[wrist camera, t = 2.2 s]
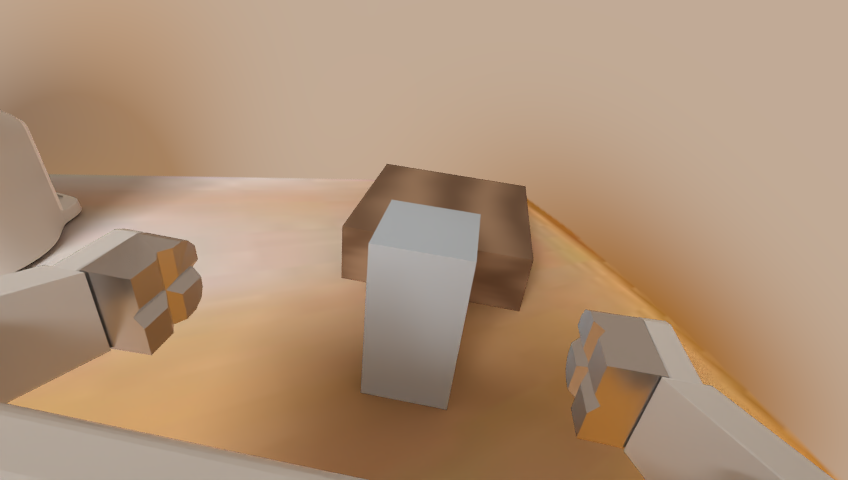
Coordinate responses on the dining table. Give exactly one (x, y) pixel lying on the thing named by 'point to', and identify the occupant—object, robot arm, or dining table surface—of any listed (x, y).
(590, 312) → the robot arm
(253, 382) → the dining table surface
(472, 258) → the slate block
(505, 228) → the walnut block
